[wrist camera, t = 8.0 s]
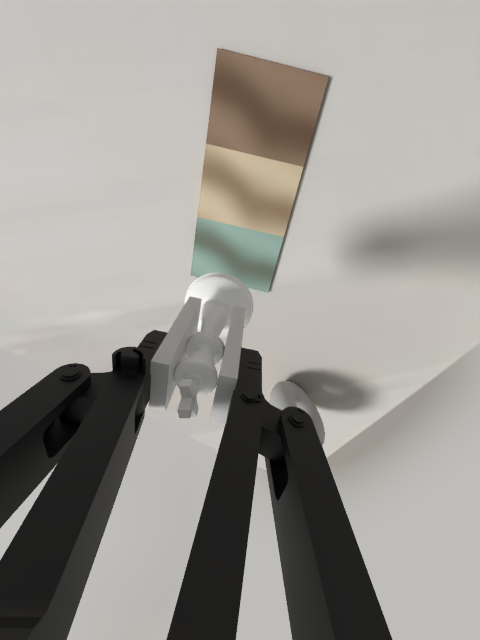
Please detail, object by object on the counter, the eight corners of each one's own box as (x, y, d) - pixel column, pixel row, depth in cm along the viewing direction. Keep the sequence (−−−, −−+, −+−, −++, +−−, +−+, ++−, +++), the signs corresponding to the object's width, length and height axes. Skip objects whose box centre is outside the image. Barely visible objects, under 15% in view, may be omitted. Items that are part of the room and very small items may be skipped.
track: (217, 49, 23) (217, 48, 22) (328, 77, 23) (328, 76, 23) (191, 274, 33) (190, 275, 33) (268, 291, 33) (268, 292, 33)
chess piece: (251, 270, 17) (242, 362, 9) (254, 332, 20) (250, 455, 11) (180, 273, 18) (103, 364, 9) (191, 334, 20) (139, 453, 12)
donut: (321, 401, 42) (337, 461, 33) (303, 411, 43) (315, 471, 34) (281, 363, 39) (288, 418, 30) (264, 375, 40) (265, 431, 31)
